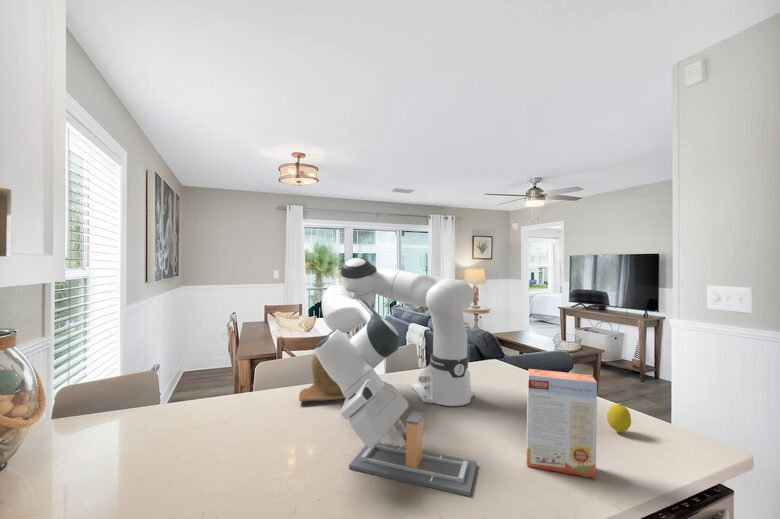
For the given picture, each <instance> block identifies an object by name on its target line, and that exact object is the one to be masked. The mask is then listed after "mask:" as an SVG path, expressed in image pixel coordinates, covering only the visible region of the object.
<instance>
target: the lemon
mask: <svg viewBox="0 0 780 519" xmlns="http://www.w3.org/2000/svg"><path fill="white" fill-rule="evenodd" d="M606 417H607V423H608V425H609V427H611V428H612V429H613V430H614V431H615V432H616V433H618V434H620V433H622V432H626V431H628V430H629V429H630V426H631V425H632V417H631V413H630V411H629V409H628V408H627V407H626V406H624V405H623V404H621V403H616V404H612V405H610V407H609V409H608V411H607V415H606Z"/></svg>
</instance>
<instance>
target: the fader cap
mask: <svg viewBox="0 0 780 519" xmlns="http://www.w3.org/2000/svg"><path fill="white" fill-rule="evenodd" d="M424 416H425V413H424V412H419V411H415V410H414V411H412V412H411V413H410V414H409V416H408V417H407V419H406V420H405V424H406V444H405V447H406V467H411V468H416V469H417V468H418V466H419V464H420V462H421V460H422V451H423V449H424V448H423V447H424V446H423V444H424V442H423V441H424V439H423V438H424V437H423V436H424Z"/></svg>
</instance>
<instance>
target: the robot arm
mask: <svg viewBox="0 0 780 519" xmlns="http://www.w3.org/2000/svg"><path fill="white" fill-rule="evenodd" d="M340 267H341V268H340V276H341V278H340V281H341V282H340V285H339V284H338V285H332V286H329V287H328V288H326V290H325V291H324V292H323V293H322V298H321V313H322V316H323V317H322V318H323V321H324V323H325V324H326V326H327V327H328V328H329V329H330V330H331V332H329V333H328V334H327V335H326V336H325V337H324V338H323V339H321V340H320V341H319V342H318V343H317V344H316V345H315V348H314V353H316V355H317V357H318V359H319V361H320V363H321V364H322V366H323V368H324V369H325V371H326V372H327V374H328V375H329V376H330V378H331V379H332V380H333V381H335V382H336V383H337V384H338V385H339V387H340V389H341V391H342V393H343V395H344V396H345V398H344V402H343V406H342V408H341V410H340V414H341V416H342V417H343V419H344V420H349V421H348V422H349V425H350V426H351V427H350V428H352V430H353V431H354V433H355V434H356V435H357V437H358V438H359V439H360V440H361V441H362V443H363V444H364V446H368V447H370V448H372V447H374V446H375V445H376V444H378V443H379V442H380V443H381V441H383V439H384V438H385V436H387V437H388V438H389V439H391V440H392V441H394V442H395V443H396V445H397V446H400V447H404V446H406V433H407V431H406V430H405V427H404V424H403V421H401V419H400V418H401V417H402V416H403V415H404V413H405V412H406V411H407V409H409V403H408V401H407V399H406V398H405V396H403V395H402V394H401V392H400V391H399V390H398V389H397V388H396V387H395V386H394V385H393V384H391V383H388V382H387V381H384V380H383V379H382V378H381V377H380V376H379V374H378V373H377V372H376V370H375V368H376V367H378V366H379V365H380V364H381V363H382V362H383V361H384V360H386V358H388V357H390V356H391V355H393V354H394V353H395V352H397V351H398V350H399V346H400V335H399V332H398V331H397V329H396V328H395V326H393V325H392V324H391V323H390V322H389V321H388V320H386V319H384V318H383V317H382V316H381V314H379V313H378V312H377V311H376V310H375V309H374V307H375V306H374V304H375V303H374V295H379V297H383V298H385V299H388V300H391V301H395V302H399V303H403V304H405V305H406V304H408V305H410V306H415V307H424V308H425V307H426V308H427V310H429V313H430V317H431V324H432V331H433V332H432V333H433V342H432V348H433V349H432V353H430V354H429V355H430V356H429V358H430V362H429V364H428V365H427V366H425V368H424V369H422V370H421V371H420V373H419V376H418V382H416V383H413V384H412V388H413V390H414V391H415V392H416V394H417V396H418V397H419V398H420V399H421V401H422V402H423V403H430V404H436V405H439V406H440V405H441V406H445V407H446V406H447V407H460V406H464V405H468V404H470V403H471V401H472V398H473V397H474V392H473V391H472V387H471V386H472V385H471V384H472V383H471V373H470V371H469V370H468V368H469V356H468V332H467V329H466V325H465V324H466V323H465V318H464V311H466V310H467V309H468V308H469V307H470V306H471V305H472V303H473V302H474V301H473V300H474V298H475V297H474V296H475V293H474V289H473V288H472V286H471V285H470V284H469V283H467V282H466V281H464V280H460V279H456V278H449V277H444V276H443V277H442V276H436V275H429V274H422V273H416V272H412V271H407V270H403V269H402V270H401V269H397V268H396V269H394V268H379V269H377V267H376V266H375V265H374V264H372V263H371V262H370V261H368V260H367V259H364V258H361V257H353V258H352V257H351V258H349V259H346V260H345V261H343V262H342V263H341V266H340ZM365 323H366V324H365ZM362 324H365V325H364V326H362V328H361V329H360V330H359V331H358V332H356V333H355V334H354V335H353V336H352V337H350V339H349V337H347V336H346V335H345V334H346V333H349V332H352V331H355V330H356V329H357V328H358V327H360V326H361V325H362Z"/></svg>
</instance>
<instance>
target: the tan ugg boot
mask: <svg viewBox="0 0 780 519" xmlns="http://www.w3.org/2000/svg"><path fill="white" fill-rule="evenodd" d="M312 355H313V356H312V358H311V371H312V377H313V380H312V381H313V382H312V385H311V386H309V387H305V388H302V389H301V390H300V391H299V395H298V401H299V402H322V401H334V400H341V399H346V398H345V396H344V395H343V393H342V391H341V389H340V387H339V385H338V384H337V383H336V382H335V381H333V380H332V379H331V378H330V376H329V375H328V374H327V372H326V371H325V369H324V368H323V366H322V364H321V363H320V361H319V359H318V357H317V355H316V353H315V352H314V353H313V354H312Z"/></svg>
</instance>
